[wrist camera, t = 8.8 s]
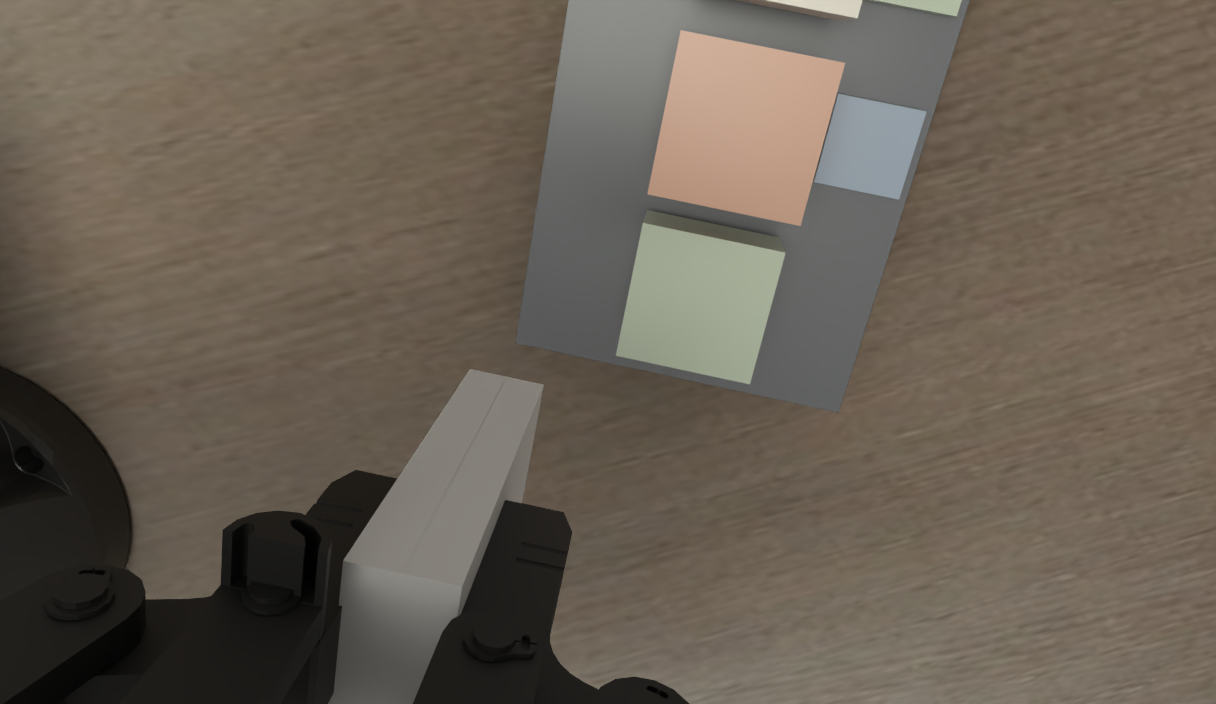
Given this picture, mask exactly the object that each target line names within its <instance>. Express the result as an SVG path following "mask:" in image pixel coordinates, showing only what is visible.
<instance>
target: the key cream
mask: <svg viewBox="0 0 1216 704" xmlns="http://www.w3.org/2000/svg"><path fill="white" fill-rule="evenodd" d="M737 1H742V2H747V3H752V4H757V5H762V6H767V7H772V8H777V9H782V10H787V11H792V12H797V13H803V14H808V15H813V16H818V17H823V18H828V19H833V20H838V21H843V22H844V21H849V20H853V19H857V18H858V15H859V11H860V8H861V4H862V0H737Z"/></svg>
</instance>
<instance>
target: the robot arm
mask: <svg viewBox="0 0 1216 704" xmlns="http://www.w3.org/2000/svg"><path fill="white" fill-rule="evenodd" d="M543 387H544V385H543V384H538V383H534V382H529V381H524V380H520V379H515V378H510V377H506V376H501V375H496V374H492V373H487V372H482V371H478V370H473V369H470V370H469V371H468V373H467V374H466V376H465V377H464V379H463V380H462V382H461V383H460V385H459V386H458V388H457V389H456V391H455V392H454V394H453V395H452V397H451V398H450V400H449V401H448V403H447V404H446V406H445V407H444V409H443V410H442V412H441V413H440V415H439V416H438V418H437V420H436V421H435V423H434V424H433V426H432V427H431V429H430V430H429V432H428V433H427V435H426V436H425V438H424V439H423V441H422V442H421V444H420V445H419V447H418V448H417V450H416V451H415V453H414V454H413V456H412V457H411V459H410V460H409V462H408V463H407V465H406V466H405V468H404V469H403V471H402V472H401V474H400V475H399V477H398V478H397V479H396V478H391V477H386V476H382V475H377V474H373V473H368V472H363V471H359V470H355V471H353V472H351V473H349V474H347V475H345V476H343V477H342V478H340V479H338V480H336V481H334V482H332V483H331V484H330V485H329V486H328V488H327V489H326V490H325V491H324V493H323V494H322V495H321V496H320V498H319V499H318V500H317V504H314V505H313V506H312V507H311V509H310V510H309V511H308V512H307V514H306V515H303V514H301V513H296V512H285V511H271V512H262V513H255V514H252V515H249V516H246V517H244V518H241V519H238V520H236V521H235V522H233V523H232V524H230V525H229V526H227V527H226V528H225V529H223V539H222V567H221V585H220V586H219V588H218V589H217V590H216V591H215V592H214V593H213V595H212V596H210V597H205V598H194V599H160V600H145V589H144V586H143V583H142V581H141V579H140V578H139V577H137V576H136V575H134V574H133V573H132V572H130V571H129V570H126V569H124V566H125V563H126V560H127V556H128V551H129V543H130V524H129V516H128V510H127V505H126V501H125V498H124V494H123V491H122V488H121V486H120V483H119V481H118V478H117V476H116V474H115V472H114V470H113V468H112V466H111V464H110V463H109V461H108V459H107V457H106V456H105V454H104V453H103V451H102V450H101V448H100V447H99V445H98V444H97V443H96V441H95V440H94V439H93V437H92V436H91V435H90V434H89V432H88V431H87V430H86V429H85V428H84V427H83V426H82V424H81V423H80V422H79V421H78V420H77V419H76V418H75V417H74V416H73V415H72V414H71V413H70V412H69V411H67V410H66V409H65V408H64V407H63V406H62V405H61V404H59V403H58V402H57V401H56V400H54V399H53V398H52V397H51V396H49V395H48V394H46V393H45V392H43V391H42V390H41V389H39V388H37V387H36V386H34V385H33V384H31V383H29V382H28V381H26V380H24V379H22V378H20V377H18V376H16V375H14V374H12V373H10V372H8V371H6V370H3V369H1V368H0V704H328V702H329V704H689V703H688V702H687V701H686V700H685V699H683V698H682V697H681V696H680V695H679V694H678V693H677V692H676V691H675V690H673V689H671V688H669V687H667V686H665V685H663V684H661V683H659V682H657V681H655V680H649V679H644V678H638V677H629V678H620V679H615V680H613V681H611V682H609V683H607V684H605V685H604V686H602V687H600V689H599V690H598V689H596V688H594V687H592V686H590V685H588V684H586V683H584V682H583V681H581V680H580V679H578V678H576V677H575V676H573V675H572V674H570V673H569V672H568V671H567V670H566V669H565V668H564V667H563V666H562V665H561V664H560V663H559V661H558V660H557V658H556V657H555V655H554V654H553V651H552V648H551V644H550V633H551V628H552V624H553V619H554V615H555V610H556V606H557V601H558V596H559V592H560V587H561V582H562V577H563V573H564V568H565V563H566V559H567V554H568V549H569V544H570V540H571V535H572V531H571V528H570V526H569V524H568V521H567V519H566V517H565V514H564V512H560V511H555V510H550V509H546V508H541V507H536V506H532V505H527V504H522V501H523V496H524V490H525V485H526V480H527V474H528V469H529V463H530V458H531V452H532V447H533V441H534V436H535V431H536V425H537V420H538V414H539V409H540V403H541V398H542V392H543ZM329 700H330V701H329Z"/></svg>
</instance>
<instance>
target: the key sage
mask: <svg viewBox="0 0 1216 704" xmlns="http://www.w3.org/2000/svg"><path fill="white" fill-rule="evenodd" d="M785 253H786V252H785V250H784V247H783V245H782V243H781V240H780V238H779V237H775V236H770V235H765V234H760V233H755V232H751V231H746V230H741V229H736V228H731V227H727V226H722V225H717V224H712V223H707V222H703V221H698V220H693V219H688V218H683V217H678V216H674V215H669V214H664V213H659V212H654V211H650V210H647V213H646V215H645V218H644V221H643V225H642V229H641V234H640V239H639V244H638V249H637V254H636V259H635V264H634V269H633V274H632V278H631V283H630V288H629V293H628V298H627V303H626V308H625V313H624V318H623V323H622V327H621V332H620V337H619V342H618V347H617V352H616V356H620V357H624V358H629V359H634V360H638V361H643V362H648V363H652V364H657V365H662V366H666V367H671V368H676V369H680V370H685V371H690V372H694V373H699V374H704V375H708V376H713V377H718V378H722V379H727V380H732V381H736V382H741V383H746V384H750V382H751V379H752V375H753V371H754V368H755V364H756V360H757V357H758V353H759V349H760V345H761V342H762V338H763V334H764V331H765V327H766V323H767V320H768V316H769V312H770V309H771V305H772V301H773V298H774V294H775V290H776V286H777V283H778V279H779V275H780V272H781V268H782V264H783V261H784V257H785Z"/></svg>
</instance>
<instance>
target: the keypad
mask: <svg viewBox="0 0 1216 704" xmlns="http://www.w3.org/2000/svg"><path fill="white" fill-rule="evenodd" d="M969 1H970V0H862V4H861V8H860V11H859V15H858V18H857V19H853V20H849V21H844V22H843V21H838V20H833V19H828V18H823V17H818V16H813V15H808V14H803V13H797V12H792V11H787V10H782V9H777V8H772V7H767V6H762V5H757V4H752V3H747V2H742V1H737V0H569V2H568V8H567V15H566V21H565V28H564V34H563V40H562V47H561V53H560V60H559V66H558V72H557V79H556V85H555V92H554V98H553V105H552V111H551V117H550V124H549V130H548V137H547V143H546V149H545V156H544V162H543V169H542V175H541V181H540V188H539V194H538V201H537V207H536V214H535V220H534V226H533V233H532V239H531V246H530V252H529V258H528V265H527V271H526V278H525V284H524V291H523V297H522V303H521V310H520V316H519V323H518V329H517V335H516V342H515V343H517V344H522V345H526V346H531V347H536V348H540V349H545V350H550V351H554V352H559V353H564V354H568V355H573V356H578V357H582V358H587V359H591V360H596V361H601V362H605V363H610V364H615V365H619V366H624V367H629V368H633V369H638V370H643V371H647V372H652V373H656V374H661V375H666V376H670V377H675V378H680V379H684V380H689V381H694V382H698V383H703V384H708V385H712V386H717V387H722V388H726V389H731V390H735V391H740V392H745V393H749V394H754V395H759V396H763V397H768V398H773V399H777V400H782V401H787V402H791V403H796V404H801V405H805V406H810V407H814V408H819V409H824V410H828V411H833V412H838V413H839V409H840V406H841V403H842V400H843V397H844V394H845V391H846V387H847V384H848V381H849V378H850V375H851V372H852V369H853V365H854V362H855V359H856V356H857V353H858V350H859V347H860V343H861V340H862V337H863V334H864V331H865V328H866V325H867V321H868V318H869V315H870V312H871V309H872V306H873V303H874V299H875V296H876V293H877V290H878V287H879V284H880V281H881V277H882V274H883V271H884V268H885V265H886V262H887V259H888V255H889V252H890V249H891V246H892V243H893V240H894V237H895V233H896V230H897V227H898V224H899V221H900V218H901V215H902V211H903V208H904V205H905V202H906V199H907V196H908V193H909V189H910V186H911V183H912V180H913V177H914V174H915V171H916V167H917V164H918V161H919V158H920V155H921V152H922V148H923V145H924V142H925V139H926V136H927V133H928V130H929V126H930V123H931V120H932V117H933V114H934V111H935V108H936V104H937V101H938V98H939V95H940V92H941V89H942V86H943V82H944V79H945V76H946V73H947V70H948V67H949V64H950V60H951V57H952V54H953V51H954V48H955V45H956V42H957V38H958V35H959V32H960V29H961V26H962V23H963V20H964V16H965V13H966V10H967V7H968V4H969ZM681 30H683V31H688V32H693V33H698V34H703V35H708V36H713V37H718V38H723V39H728V40H733V41H738V42H743V43H748V44H753V45H758V46H763V47H768V48H773V49H778V50H783V51H788V52H793V53H798V54H803V55H808V56H813V57H818V58H823V59H828V60H833V61H838V62H843V63H845V66H844V70H843V73H842V77H841V80H840V84H839V88H838V91H837V95H836V99H835V102H834V106H833V110H832V113H831V117H830V120H829V124H828V128H827V131H826V135H825V139H824V142H823V146H822V150H821V153H820V157H819V161H818V164H817V168H816V171H815V175H814V179H813V182H812V186H811V190H810V193H809V197H808V201H807V204H806V208H805V211H804V215H803V219H802V222H801V226H798V225H793V224H788V223H783V222H779V221H774V220H769V219H764V218H759V217H754V216H750V215H745V214H740V213H735V212H730V211H725V210H721V209H716V208H711V207H706V206H701V205H697V204H692V203H687V202H682V201H677V200H672V199H668V198H663V197H658V196H653V195H648V194H647V193H648V188H649V183H650V179H651V174H652V169H653V164H654V159H655V154H656V149H657V144H658V139H659V134H660V129H661V125H662V120H663V115H664V110H665V105H666V100H667V95H668V90H669V85H670V80H671V75H672V70H673V66H674V61H675V56H676V51H677V46H678V41H679V36H680V31H681ZM647 210H650V211H654V212H659V213H664V214H669V215H674V216H678V217H683V218H688V219H693V220H698V221H703V222H707V223H712V224H717V225H722V226H727V227H731V228H736V229H741V230H746V231H751V232H755V233H760V234H765V235H770V236H775V237H779V238H780V240H781V243H782V245H783V247H784V250H785V252H786V253H785V257H784V261H783V264H782V268H781V272H780V275H779V279H778V283H777V286H776V290H775V294H774V298H773V301H772V305H771V309H770V312H769V316H768V320H767V323H766V327H765V331H764V334H763V338H762V342H761V345H760V349H759V353H758V357H757V360H756V364H755V368H754V371H753V375H752V379H751V382H750V384H746V383H741V382H736V381H732V380H727V379H722V378H718V377H713V376H708V375H704V374H699V373H694V372H690V371H685V370H680V369H676V368H671V367H666V366H662V365H657V364H652V363H648V362H643V361H638V360H634V359H629V358H624V357H620V356H616V352H617V347H618V342H619V337H620V332H621V327H622V323H623V318H624V313H625V308H626V303H627V298H628V293H629V288H630V283H631V278H632V274H633V269H634V264H635V259H636V254H637V249H638V244H639V239H640V234H641V229H642V225H643V221H644V218H645V215H646V213H647Z"/></svg>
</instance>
